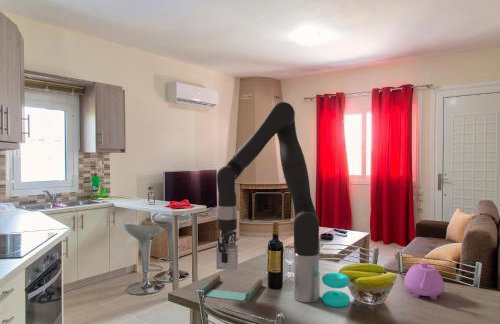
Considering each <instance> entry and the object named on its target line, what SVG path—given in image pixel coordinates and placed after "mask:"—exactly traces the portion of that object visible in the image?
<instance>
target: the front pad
mask: <svg viewBox="0 0 500 324" xmlns="http://www.w3.org/2000/svg"><path fill="white" fill-rule="evenodd" d="M246 294H247V292H246V293H244V292H237V291H235V292H234V291H228V290H219V289H212V288H211V289H210V290H209V291H207V292H206V293H205V294H204V295H203V296H204V297H208V298H217V299H222V300H223V299H224V300H230V301H231V300H233V301H238V302H244V301H246Z"/></svg>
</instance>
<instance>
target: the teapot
mask: <svg viewBox="0 0 500 324" xmlns="http://www.w3.org/2000/svg"><path fill="white" fill-rule="evenodd" d="M403 283H404V287H405V288H406V289H407V290H408V291H409V292H411V293H412V297H413V298H417V299H418V298H420V296H424V297H429V299H431V300H433V301H434V300H438V298H437V297H438V296H440V295H441V294H442V293H443V292H444V291H445V283H444V279H443V277H442V275H441V274H440V272H439V271H438V270H437V268H436V267H435V266H433V265H430V264H429V263H428V262H426V261H420V262H419V263H416V264H412V266H411V267H409V269H408V270H407V272H406V274H405V276H404V282H403Z"/></svg>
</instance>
